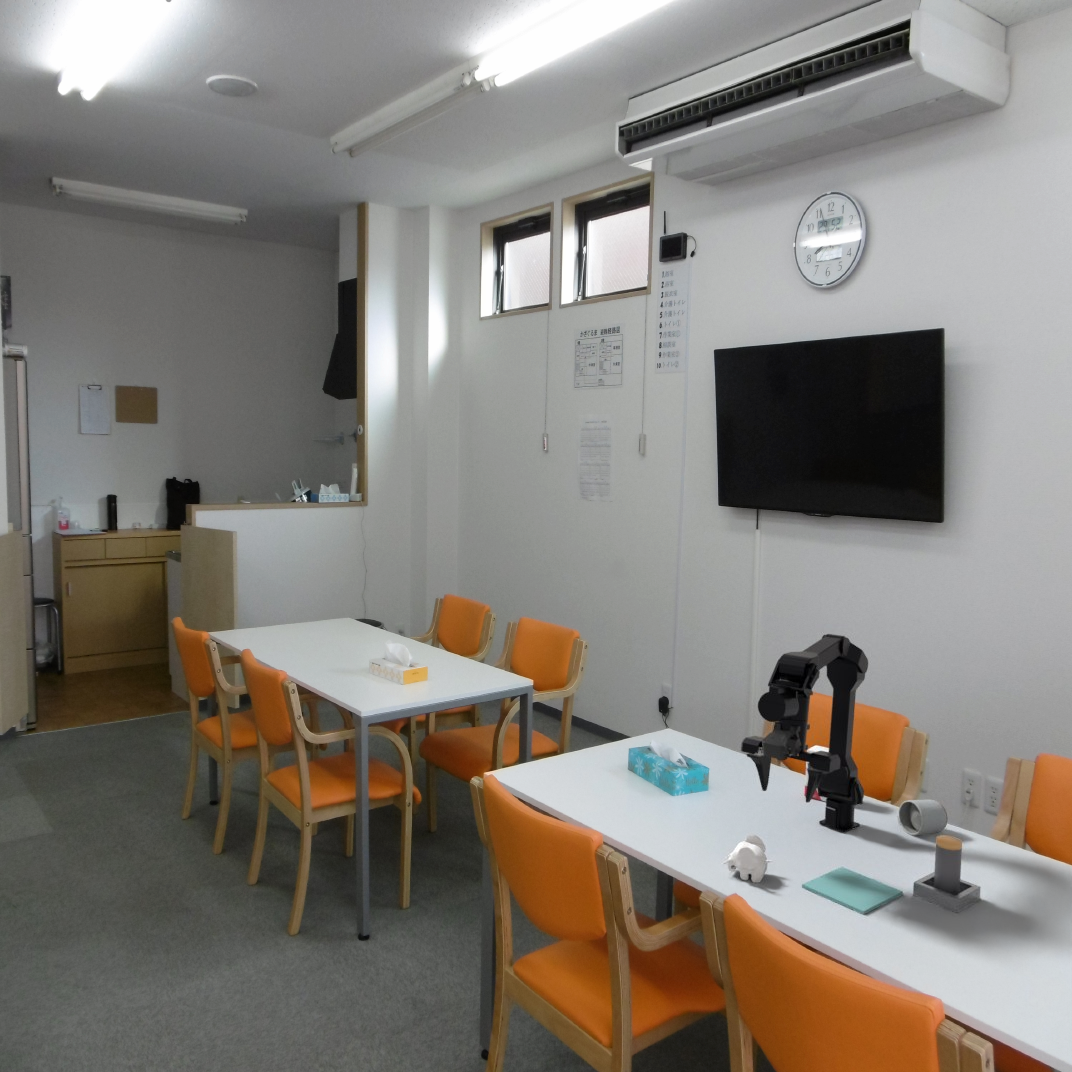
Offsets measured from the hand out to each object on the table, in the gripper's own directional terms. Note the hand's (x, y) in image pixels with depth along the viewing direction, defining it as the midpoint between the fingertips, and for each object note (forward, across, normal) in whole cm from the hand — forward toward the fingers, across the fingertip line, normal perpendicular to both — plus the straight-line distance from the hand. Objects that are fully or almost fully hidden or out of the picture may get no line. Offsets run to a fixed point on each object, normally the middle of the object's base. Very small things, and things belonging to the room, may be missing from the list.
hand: (785, 796), depth 180 cm
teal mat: (+14, +15, 0) cm, 20 cm away
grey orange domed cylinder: (+13, +29, +10) cm, 33 cm away
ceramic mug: (+10, +14, +39) cm, 43 cm away
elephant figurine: (+16, -3, -7) cm, 17 cm away
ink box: (+9, -9, +44) cm, 46 cm away
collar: (+13, +29, +10) cm, 33 cm away
